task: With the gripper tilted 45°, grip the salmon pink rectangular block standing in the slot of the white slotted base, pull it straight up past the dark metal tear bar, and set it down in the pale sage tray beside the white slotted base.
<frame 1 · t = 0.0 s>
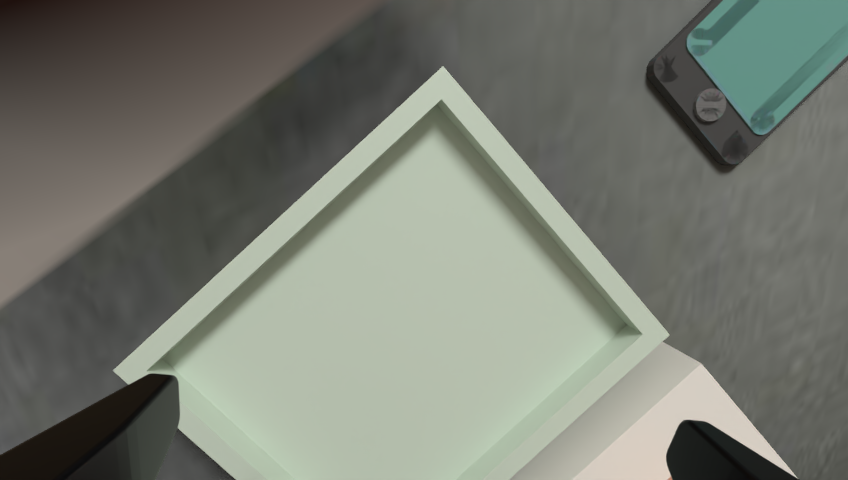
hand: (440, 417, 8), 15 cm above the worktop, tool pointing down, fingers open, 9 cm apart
smartphone: (778, 24, 24), on the worktop
white slotted base: (636, 474, 26), on the worktop
tray: (403, 334, 24), on the worktop
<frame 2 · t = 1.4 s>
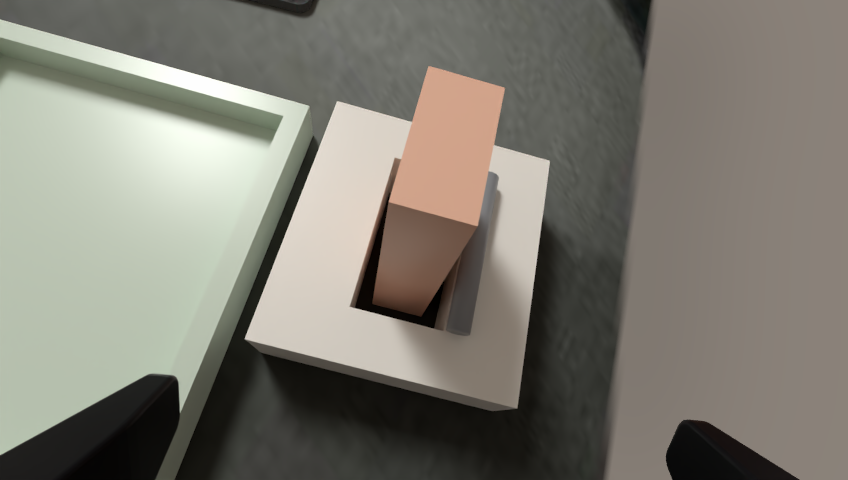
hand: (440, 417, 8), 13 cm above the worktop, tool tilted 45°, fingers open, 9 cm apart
white slotted base: (408, 264, 23), on the worktop
salmon pink rectangular block: (408, 264, 23), resting in white slotted base
tray: (65, 256, 21), on the worktop
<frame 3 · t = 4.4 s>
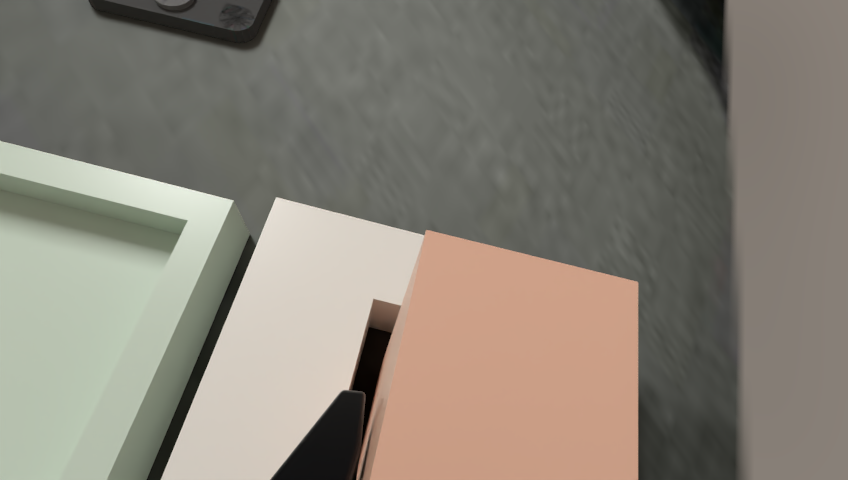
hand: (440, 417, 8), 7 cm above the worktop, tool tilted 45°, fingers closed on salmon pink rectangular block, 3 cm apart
white slotted base: (400, 458, 14), on the worktop
salmon pink rectangular block: (400, 458, 14), resting in white slotted base, touching gripper
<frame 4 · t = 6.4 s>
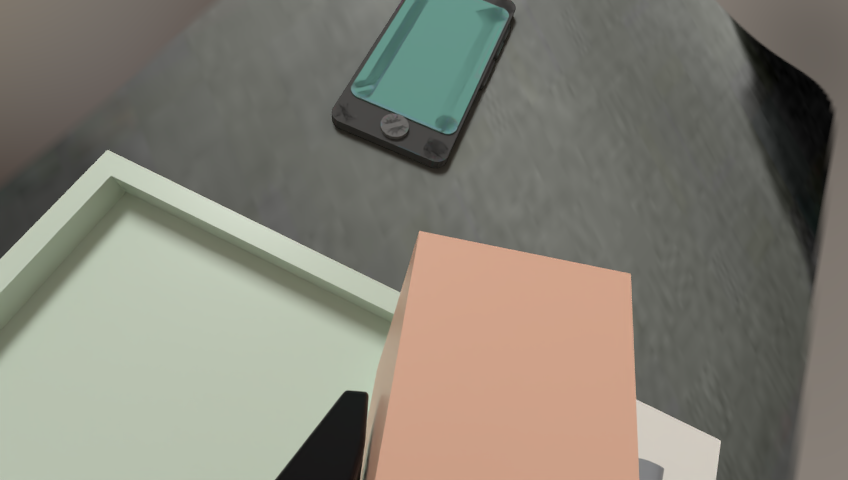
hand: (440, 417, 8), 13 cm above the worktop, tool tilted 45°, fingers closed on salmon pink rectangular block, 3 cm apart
smartphone: (431, 68, 30), on the worktop
salmon pink rectangular block: (400, 457, 14), point 6 cm above the worktop, touching gripper
tray: (144, 451, 18), on the worktop
when the fingers open (9 cm above the worktop, at t = 8.4 s): salmon pink rectangular block stays where it is, resting on tray.
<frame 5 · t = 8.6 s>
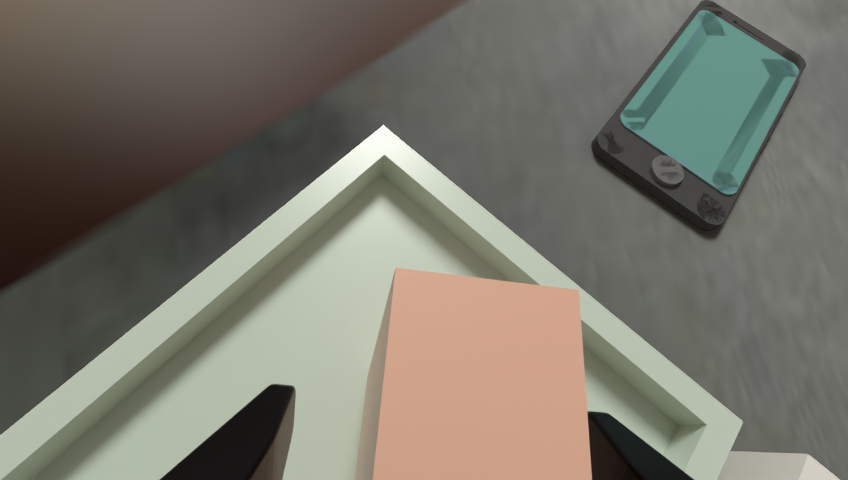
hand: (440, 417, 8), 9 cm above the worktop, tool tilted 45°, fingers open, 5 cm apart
smartphone: (697, 113, 26), on the worktop
salmon pink rectangular block: (395, 455, 15), point 1 cm above the worktop, touching tray
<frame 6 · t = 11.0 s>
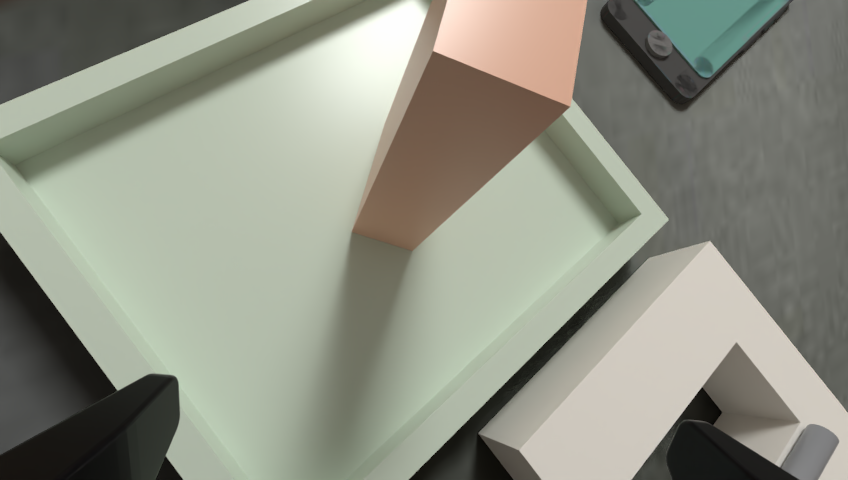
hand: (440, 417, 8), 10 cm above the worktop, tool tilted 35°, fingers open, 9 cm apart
smartphone: (696, 13, 29), on the worktop
white slotted base: (650, 435, 20), on the worktop
salmon pink rectangular block: (398, 185, 18), point 1 cm above the worktop, touching tray
tray: (363, 207, 19), on the worktop
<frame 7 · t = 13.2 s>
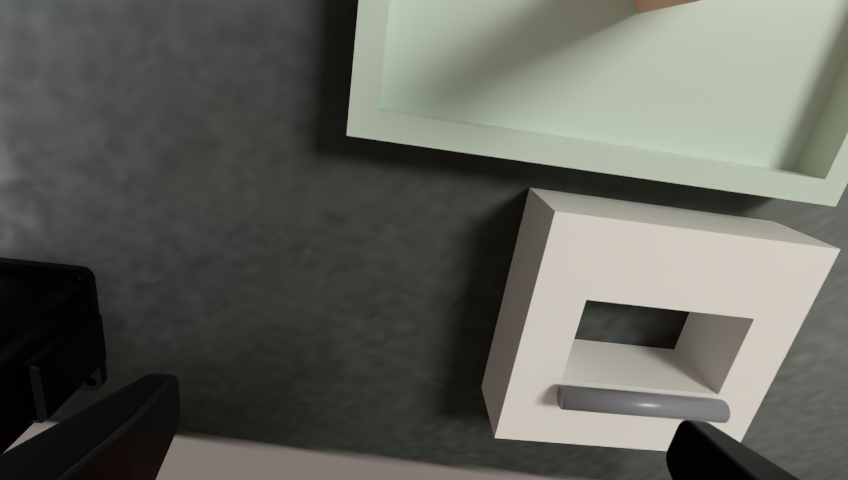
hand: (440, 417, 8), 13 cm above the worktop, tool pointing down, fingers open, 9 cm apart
white slotted base: (618, 308, 23), on the worktop
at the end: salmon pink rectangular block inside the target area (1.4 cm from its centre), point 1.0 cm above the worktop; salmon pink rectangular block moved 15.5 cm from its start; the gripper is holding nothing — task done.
